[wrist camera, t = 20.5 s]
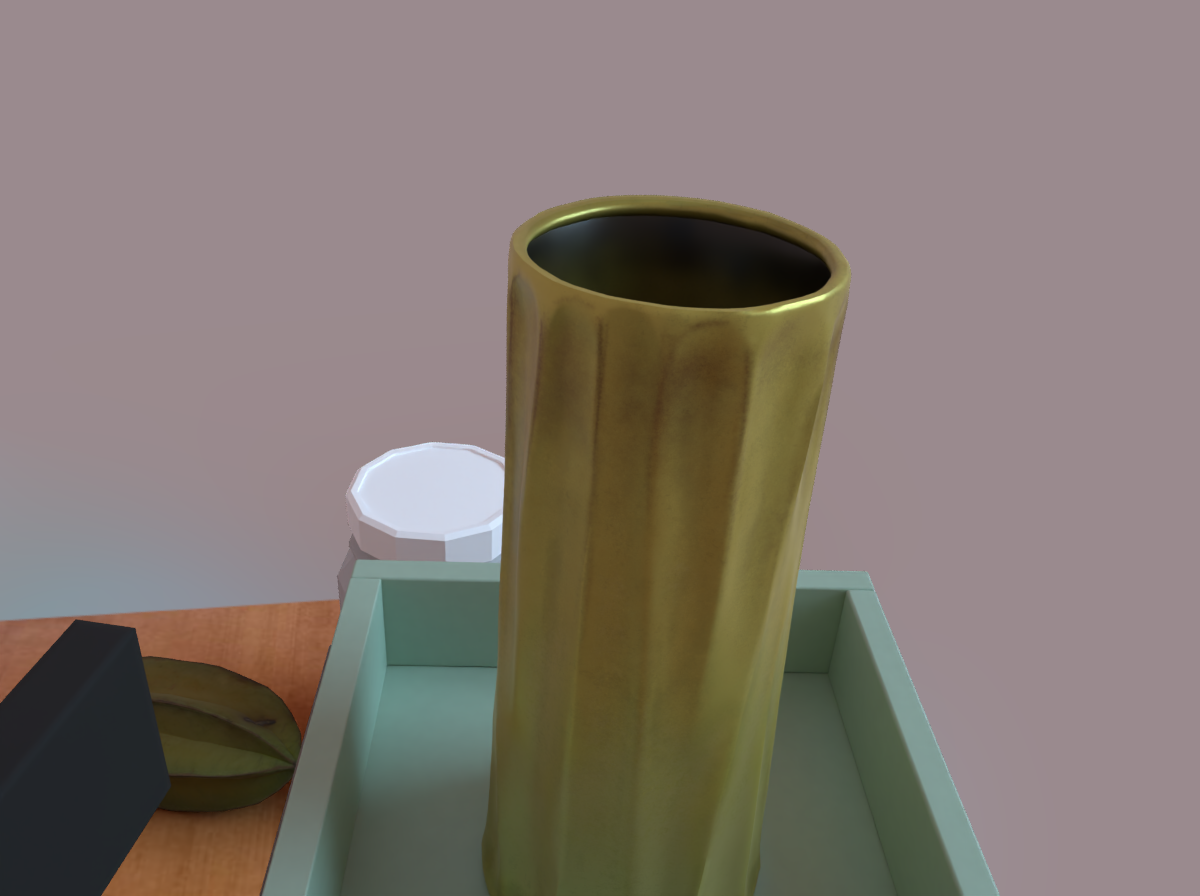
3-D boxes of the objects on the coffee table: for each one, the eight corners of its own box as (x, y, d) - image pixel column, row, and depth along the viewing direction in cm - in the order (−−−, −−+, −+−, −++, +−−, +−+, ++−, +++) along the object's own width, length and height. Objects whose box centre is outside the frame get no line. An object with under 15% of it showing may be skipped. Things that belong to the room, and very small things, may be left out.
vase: (777, 990, 21) (934, 337, 13) (469, 985, 20) (458, 316, 13) (737, 755, 26) (834, 193, 19) (491, 750, 26) (492, 177, 18)
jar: (354, 703, 61) (330, 438, 51) (520, 686, 63) (526, 427, 53) (355, 842, 53) (327, 556, 43) (546, 817, 55) (559, 538, 45)
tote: (1021, 1227, 18) (1088, 1106, 16) (234, 1237, 18) (200, 1112, 15) (842, 680, 30) (868, 570, 28) (364, 673, 29) (354, 558, 27)
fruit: (249, 677, 62) (235, 590, 59) (321, 819, 54) (310, 727, 50) (38, 751, 56) (9, 660, 53) (82, 923, 48) (51, 827, 45)
